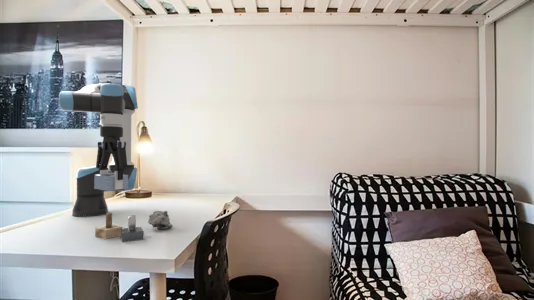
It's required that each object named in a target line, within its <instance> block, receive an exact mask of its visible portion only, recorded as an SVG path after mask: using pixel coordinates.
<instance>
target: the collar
mask: <svg viewBox="0 0 534 300" xmlns="http://www.w3.org/2000/svg"><path fill="white" fill-rule="evenodd" d="M94 189H99V190H105V191H106V192H112V191H111V190H115V189H114V174H101V175H95V177H94ZM123 189H128V175H124V174H123ZM116 190H119V189H116Z"/></svg>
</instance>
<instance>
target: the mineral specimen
mask: <svg viewBox="0 0 534 300" xmlns="http://www.w3.org/2000/svg"><path fill="white" fill-rule="evenodd" d="M147 223H148V225H151V226H152V228H153V229H155V228H156V229H157V230H159V229H160V230H161V229H162V230H167V229H169V228H172V227H173V224H172V223H171V221H170V217H169V214H168V211H167V210H154V211H153V212H152V213H151V214H150V215H149V219H148V221H147Z"/></svg>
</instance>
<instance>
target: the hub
mask: <svg viewBox="0 0 534 300" xmlns="http://www.w3.org/2000/svg"><path fill="white" fill-rule="evenodd" d="M127 216H128V221H127V222H128V225H127V226H128V227H127V228H122V229H121V235H120V239H121V243H125V242H126V243H128V242H133V241H142V240H144V235H145V234H144V231H145V230H144V229H143V227H142V226H137V224H136V223H137V219H136V218H137V215H135V214H132V215H127Z"/></svg>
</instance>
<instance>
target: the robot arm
mask: <svg viewBox="0 0 534 300" xmlns="http://www.w3.org/2000/svg"><path fill="white" fill-rule="evenodd" d="M136 91H137V90H136V88H135V86H133V85H126V84H117V83H113V82H110V83H109V82H108V83H107V82H105V83H95V84H94V83H93V84H88V85H86V86H83V87H82V88H81V89H80V90H77V91H71V90H66V91H65V90H62V91H60V92H59V94H58V106H59V108H60V110H61V111H64V112H78V113H80V112H81V113H99V114H100V116H99V118H100V119H99V120H100V122H99V124H100V128H99V136H100V137H102V138H103V140H102V141H98V142H97V156H96V162H95V163H96V164H95V165H94V166H86V167H81V168H78V170H77V172H76V178H75V179H76V199H75V200H76V201H75V202H74V204H73V208H72V212H71V214H72V216H73V217H94V216H100V215H101V216H102V215H104V214H105V215H106V214H107V213H108V212H109V211H108V210H109V208H108V205H107V201H106V199H105V193H106V192H107V191H105V190H99V189H94V177H95V175H101V174H114V189H115V190H111V191H110V192H126V191H127V192H129V191H132V190H134V189H135V186H136V181H137V173H138V168H137V167H135V163H133V162H132V115H134V113H135V112H136V111H135V110H137V109H138V100H137V93H136ZM111 157H112V161H111V162H110V159H111ZM109 162H110V163H109ZM123 174H124V175H128V189H123ZM116 189H119V190H116Z"/></svg>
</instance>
